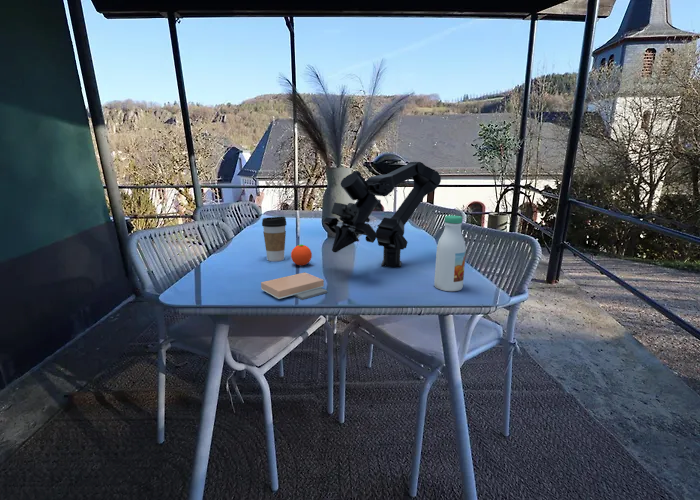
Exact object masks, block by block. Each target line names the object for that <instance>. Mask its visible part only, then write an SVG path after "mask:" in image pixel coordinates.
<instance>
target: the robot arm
mask: <svg viewBox="0 0 700 500" xmlns="http://www.w3.org/2000/svg"><path fill="white" fill-rule="evenodd" d="M410 179H411V180H413V188H412V190H410V192H409V193H408V195H407V196H406V197H405V198H404V200H403V201H402V203H401V204H400V206H399V207H398V209H397V210H396V211H395V212H394V214H393V216H391V217H383V218H382V220H381V222H380V223H379V224H378V225H376V227H377V228H376V231H375V230H374V229H373V227H372V226H371V224H369V222H371V218H369V217H370V215H371V214H372V213H373V211H374V210H375V209H382V203H381V199H378V198H377V197H387V196H388V195H390V194H391V193H392V192H394V190H395V187H396V186H398V185H400V184H401V183H403V182H405V181H406V182H407V181H408V180H410ZM441 182H442V177H441V175H440V173H439V171H437V170H435V169H434V168H431V167H430V166H427V165H426V164H425V163H423V162H421V161H409V162H408V163H407V164H405V165H402V166H401V167H399V168H397V169H395V170H392V171H391V172H388V173H387V174H379V175H374V176H373V175H372V176H369V177H368V178H367V179H366V180H365V178H364V177H363V175H362V174H361V171H359V170H353V172H352V173H349V174H348V175H346V176H345V177H343V178H342V179H341V181H340V187H341V188H342V189H343V190H344V191H345V193H346V194H347V195H348V197H350V199H351V200H352V201H355V203H352V202H348V203H347V204H345V203H341V202H333V205H332V209H331V211H330V214H332V215H335V216H338V217H339V218H337V217H334V216H326V217H324V219H323V221H322V222H323V224H324V225H325V226H326V228H328V229H329V231H330V232H331V233H333V234H335V236H334V240H333V244H332V248H331V251H332V252H333V253H334V254H335V253H338V252H340V251H341V250H343V249H344V248H346V247H348V246H351V245H352V244H354V243H357V242H360V239H359V238H360V236H362V235H363V236H365V241H366V242H368V243H374V242H375V241H376V240H377V245H378V246H380V247H383V255H382V256H383V258H382V262H381V265H380V266H381V267H391V268H401V267H402V260H401V253H402V252H401V250H405V249H407V246H408V243H409V242H408V240H407V239H406V238H405V236H404V235H405V225H406V224H407V223H408V221H409V219H410V218H411V217H412V216H413V214H414V212H416V210H417V208H418V206H419V205H420V204H421V202H422V201H423V199H424V198H425V197H426V195H429V194H431V193H432V192H434V191H436V189H437V188H438V187H439V186H440V184H441Z"/></svg>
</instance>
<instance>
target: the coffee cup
mask: <svg viewBox="0 0 700 500" xmlns="http://www.w3.org/2000/svg"><path fill="white" fill-rule="evenodd" d="M286 220H287V219H286V216H271V217H270V216H269V217H264V218H262V222H261V226H262V227H263V238H264V244H265V253H266V259H267V261H269V262H281V261H284V259H285V251H286V249H285V248H286V237H287V236H286V235H287V234H286V233H287V231H286V226H287V221H286Z"/></svg>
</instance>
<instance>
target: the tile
mask: <svg viewBox="0 0 700 500" xmlns="http://www.w3.org/2000/svg"><path fill="white" fill-rule="evenodd" d="M324 284H325V283H324V279H322V278H321V277H317V276H315V275H312V274H310V273H307V272H306V271H305V272H301V273H296V274H293V275H288V276H283V277H278V278H275V279H274V278H273V279H270V280H266V281H261V282H260V287H261V290H262V291H263V292H266V293H267V294H269V295H271V296H273V297H274V298H275V299H278V300H280V299H283V298H288V297H291V296H293V295H295V294H299V293H303V292H306V291H310V290H314V289H318V288H324V286H325V285H324Z"/></svg>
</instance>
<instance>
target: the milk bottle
mask: <svg viewBox="0 0 700 500" xmlns="http://www.w3.org/2000/svg"><path fill="white" fill-rule="evenodd" d="M443 221H444V223H443V224H444V228H443V229H444V230H443V232H442V233H441V236H440V238H438V239H439V240H438V242H437V246H436V256H435V265H434V266H435V267H434V268H435V269H434V281H433V282H434V287H435V288H436V289H438V290H441V291H446V292H457V291H461V290H462V289H463V287H464V278H465V277H464V276H465V267H466V266H465V265H466V253H467V252H466V249H467V247H466V242H465V238H464V236H463V232H462V225H463V216H460V215H445V216H444V220H443Z"/></svg>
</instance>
